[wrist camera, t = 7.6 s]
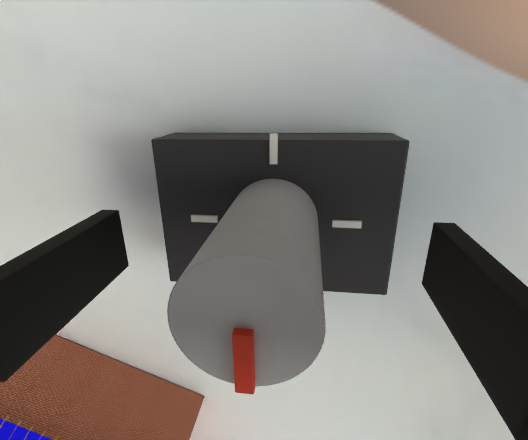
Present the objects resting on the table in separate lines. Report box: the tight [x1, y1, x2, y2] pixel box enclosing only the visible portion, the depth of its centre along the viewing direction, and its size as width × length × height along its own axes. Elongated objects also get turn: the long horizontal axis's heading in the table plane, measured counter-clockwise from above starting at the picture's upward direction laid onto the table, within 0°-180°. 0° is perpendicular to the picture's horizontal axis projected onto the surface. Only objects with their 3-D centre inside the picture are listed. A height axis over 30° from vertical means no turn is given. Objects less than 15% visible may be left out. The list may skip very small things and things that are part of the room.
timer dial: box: [167, 179, 325, 394], centre depth 12 cm, size 4×4×8 cm
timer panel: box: [152, 133, 409, 295], centre depth 18 cm, size 12×9×3 cm
